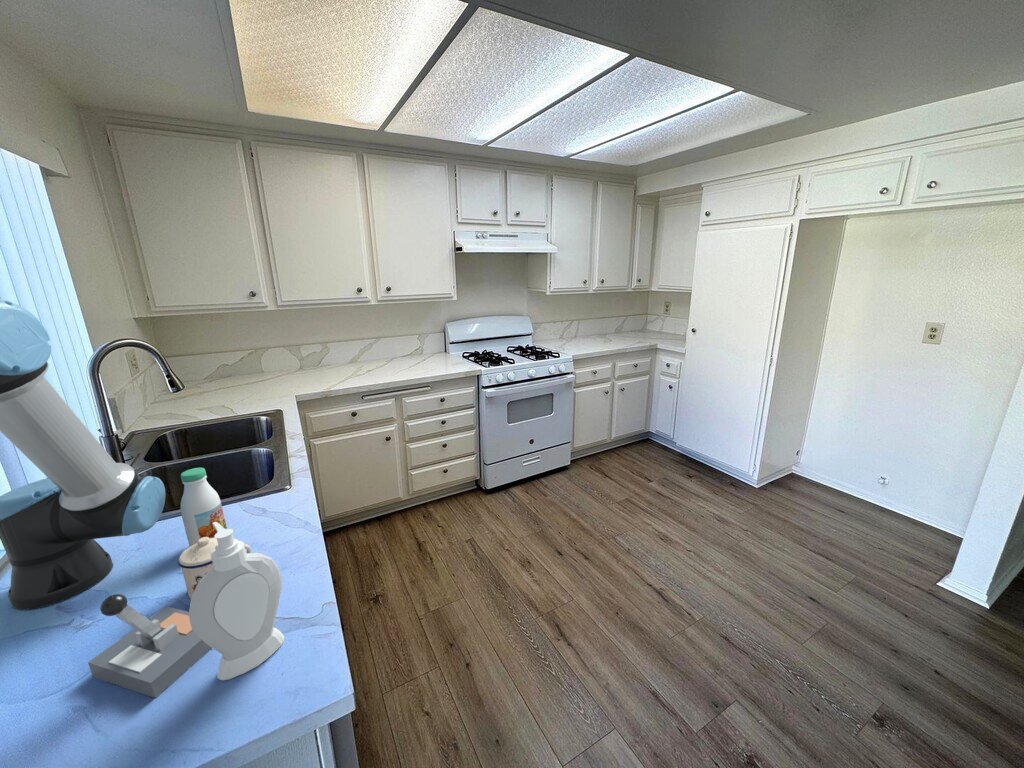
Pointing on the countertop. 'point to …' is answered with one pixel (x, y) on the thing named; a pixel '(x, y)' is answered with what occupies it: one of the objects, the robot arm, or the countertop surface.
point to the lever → (129, 615)
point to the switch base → (151, 655)
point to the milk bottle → (200, 506)
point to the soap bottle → (237, 606)
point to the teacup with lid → (198, 562)
